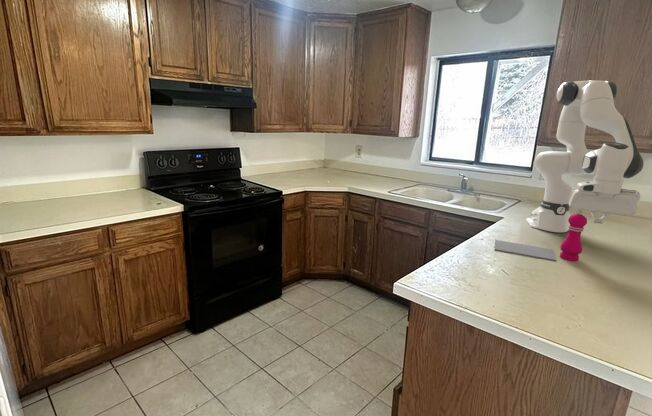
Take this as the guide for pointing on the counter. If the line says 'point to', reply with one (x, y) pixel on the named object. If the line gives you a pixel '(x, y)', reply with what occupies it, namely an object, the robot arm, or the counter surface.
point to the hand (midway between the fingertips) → (597, 222)
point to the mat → (525, 250)
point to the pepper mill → (573, 238)
